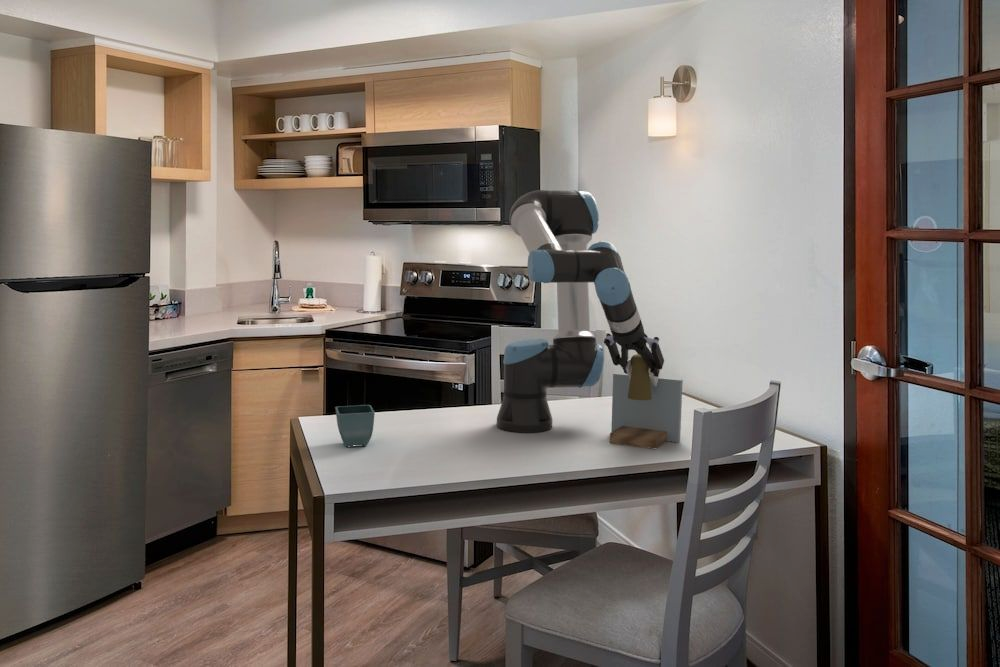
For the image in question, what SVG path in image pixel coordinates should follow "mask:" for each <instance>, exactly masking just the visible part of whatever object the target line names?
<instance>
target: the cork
mask: <svg viewBox="0 0 1000 667" xmlns="http://www.w3.org/2000/svg"><path fill="white" fill-rule="evenodd" d="M629 360H630V363H631V366H632V373H631V379H630V385H629V391H628V397H627V398H629V399H632V400H650V399H652V397H651V386H650V375H649V372H648V370H649V366H648V365H647V363H646V362H645V361H644V359H643V358H642V357H641V355H640V354H638V353H637V354H633V355H632V356H631V357H630V359H629Z"/></svg>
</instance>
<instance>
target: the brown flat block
mask: <svg viewBox="0 0 1000 667" xmlns="http://www.w3.org/2000/svg"><path fill="white" fill-rule="evenodd" d="M610 442H612V443H611V444H616V443H619V444H618V445H623V444H627V445H626V446H630V445H634V446H633V447H637V446H641V447H640V448H644V447H650V448H649V449H651V448H657V447H658V448H659V447H661V446H662V445H663V444H665V443H667V442H668V441H667V431H659V430H651V429H644V428H636V427H628V426H621V427H619V428H618V429H616V430H614V431H613V432H610V433H609V443H610ZM664 442H665V443H664ZM661 444H662V445H661ZM660 445H661V446H660ZM658 448H657V449H658Z"/></svg>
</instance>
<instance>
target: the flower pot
mask: <svg viewBox="0 0 1000 667" xmlns="http://www.w3.org/2000/svg"><path fill="white" fill-rule="evenodd" d="M334 408H335V409H334V410H335V416H336V417H335V418H336V424H337V429H338V432H339V435H340V437H341V440H342V443H343V444H344V446H345V447H346V446H353V445H367V446H368V444H369V443H370V441H371V439H372V436H373V432H374V423H375V422H374V421H375V413H376V412H375V410H374V408H373V407H372V405H370V404H359V405H345V406H343V405H342V406H335V407H334Z"/></svg>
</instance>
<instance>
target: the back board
mask: <svg viewBox="0 0 1000 667" xmlns="http://www.w3.org/2000/svg"><path fill="white" fill-rule="evenodd" d="M658 377H659V379H658V382H657V386H653V384H652V381H651V378H650V386H651V397H652V399H650V400H632V399H629V398H627V397H628V391H629V385H630V379H629V376H628V374H625V373H619V372H614V373H612V399H611V400H612V401H611V403H612V405H611V432H613V431H614V430H616V429H618V428H619V427H621V426H628V427H636V428H644V429H651V430H659V431H667V441H666V442H670V441H672V442H671V443H677V442H678V443H680V442H681V429H682V428H681V427H682V406H683V405H682V403H683V402H682V401H683V400H682V399H683V381H684V380H683V379H681V378H671V377H662V376H658ZM611 432H610V433H611ZM679 441H680V442H679Z"/></svg>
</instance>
